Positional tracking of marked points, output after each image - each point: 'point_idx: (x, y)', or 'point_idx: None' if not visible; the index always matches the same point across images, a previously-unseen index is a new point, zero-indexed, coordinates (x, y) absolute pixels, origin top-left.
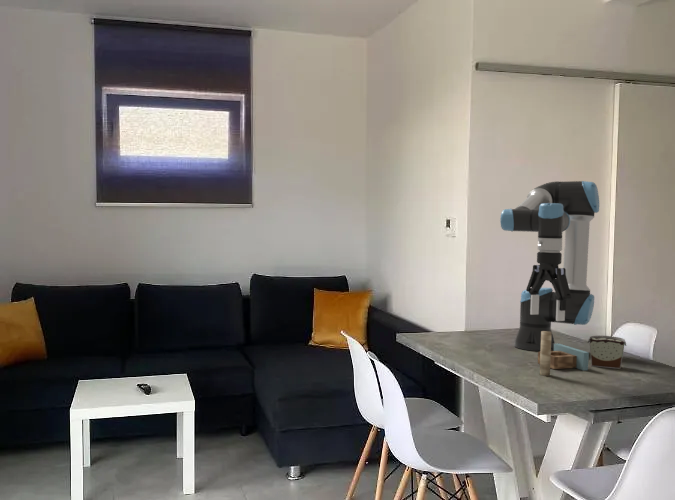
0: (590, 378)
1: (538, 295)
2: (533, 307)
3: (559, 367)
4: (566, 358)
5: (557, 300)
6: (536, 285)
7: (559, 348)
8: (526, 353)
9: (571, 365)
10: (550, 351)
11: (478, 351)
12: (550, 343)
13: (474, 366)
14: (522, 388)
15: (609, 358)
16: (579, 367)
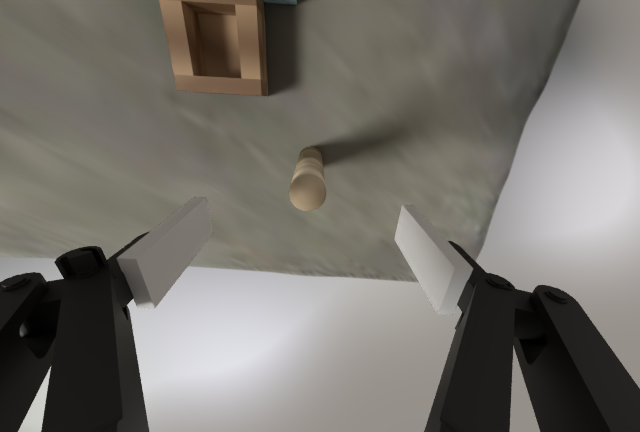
0: (378, 63)
1: (141, 261)
2: (196, 244)
3: (266, 75)
4: (260, 41)
5: (445, 312)
6: (140, 389)
7: None
8: (29, 14)
9: (263, 22)
10: (321, 166)
11: (32, 158)
12: (323, 175)
13: (211, 250)
14: (381, 259)
15: None
16: (279, 1)
